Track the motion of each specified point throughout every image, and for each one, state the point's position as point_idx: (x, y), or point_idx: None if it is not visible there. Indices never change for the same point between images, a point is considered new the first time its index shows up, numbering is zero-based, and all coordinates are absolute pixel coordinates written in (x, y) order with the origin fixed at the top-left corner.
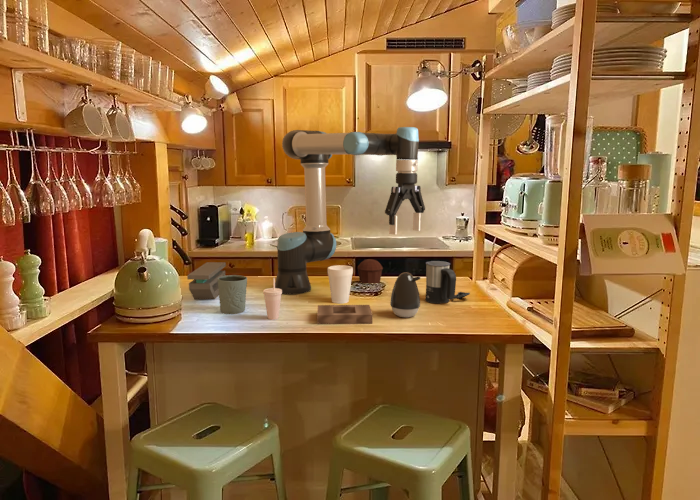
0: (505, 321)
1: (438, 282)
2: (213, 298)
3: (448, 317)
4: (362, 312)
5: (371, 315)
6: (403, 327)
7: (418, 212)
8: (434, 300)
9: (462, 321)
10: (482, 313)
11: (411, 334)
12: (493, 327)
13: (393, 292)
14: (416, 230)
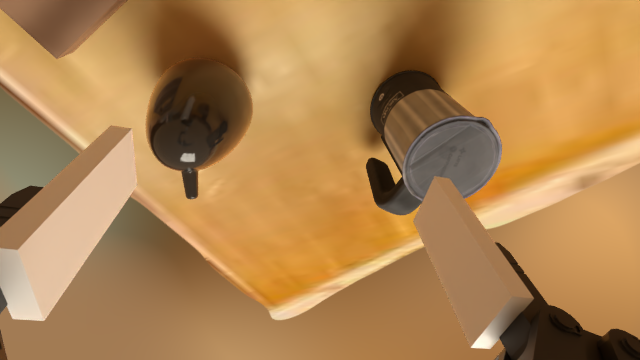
0: (313, 269)
1: (390, 150)
2: None
3: (270, 186)
4: (43, 14)
5: (55, 55)
6: None
7: (507, 336)
8: (373, 116)
9: (262, 216)
10: (344, 227)
11: None
12: (263, 265)
13: (152, 95)
14: (422, 205)
